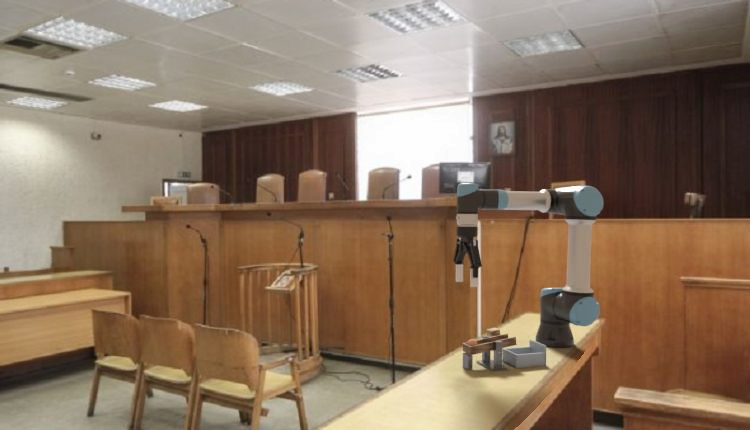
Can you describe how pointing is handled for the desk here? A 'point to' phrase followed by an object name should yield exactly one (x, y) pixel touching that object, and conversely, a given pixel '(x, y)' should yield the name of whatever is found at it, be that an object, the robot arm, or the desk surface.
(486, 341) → the lever
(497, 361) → the fulcrum
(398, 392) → the desk surface
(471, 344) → the ball
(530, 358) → the bin
